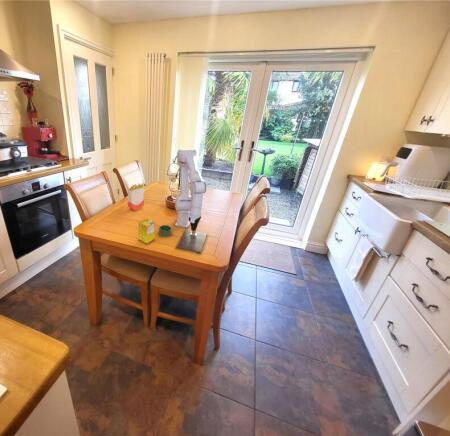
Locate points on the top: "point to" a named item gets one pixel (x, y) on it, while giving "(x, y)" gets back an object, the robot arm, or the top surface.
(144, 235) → the supplement box
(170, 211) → the top surface
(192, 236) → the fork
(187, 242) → the board
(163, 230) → the green bowl
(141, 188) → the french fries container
